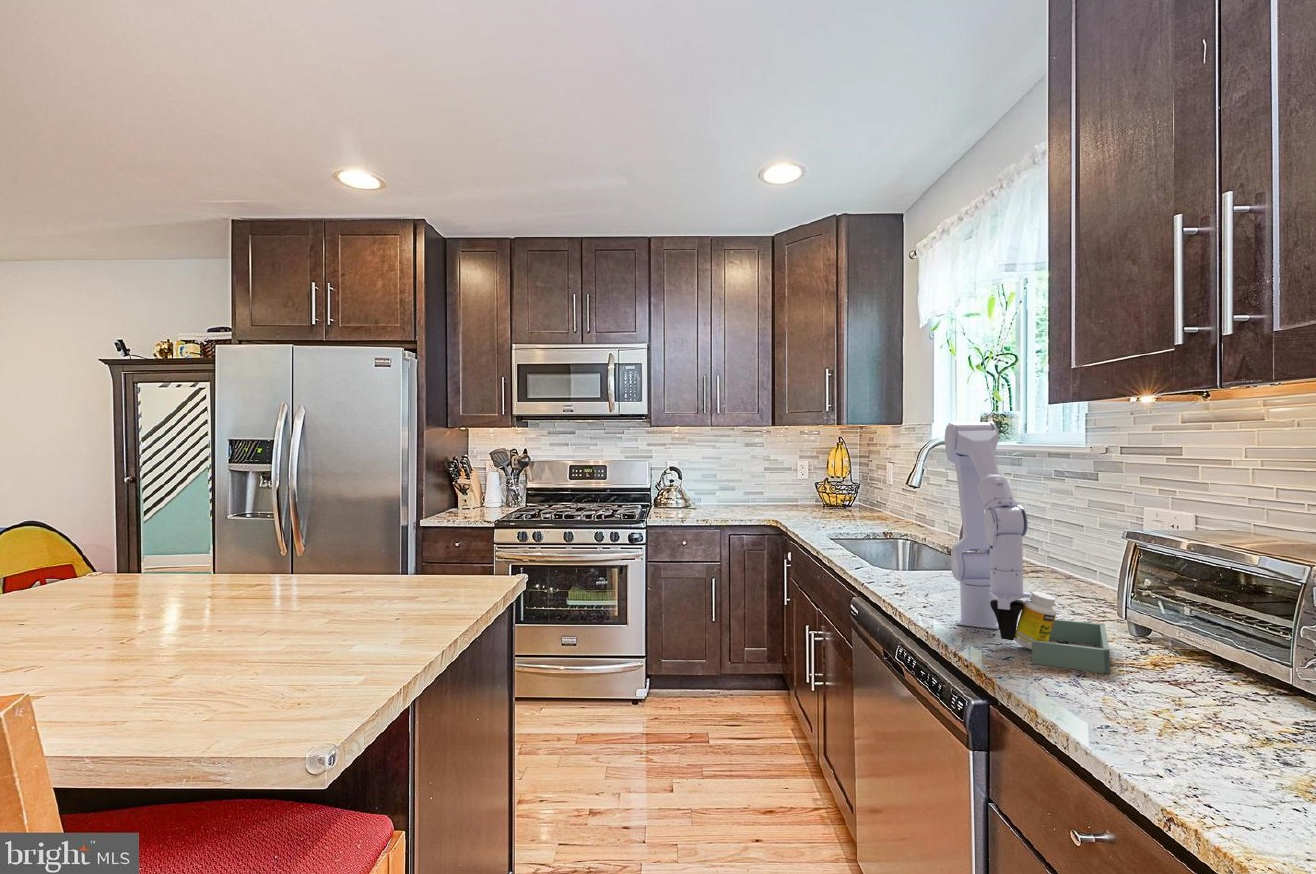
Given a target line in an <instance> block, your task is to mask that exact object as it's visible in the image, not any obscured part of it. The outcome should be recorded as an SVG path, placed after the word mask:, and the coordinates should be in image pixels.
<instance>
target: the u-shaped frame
mask: <svg viewBox="0 0 1316 874" xmlns="http://www.w3.org/2000/svg"><path fill="white" fill-rule="evenodd" d="M1049 640H1051V641H1059V642H1060V641H1061V642H1070V643H1078V644H1085V645H1093V646H1099V647H1100V648H1099V647H1092V646H1083V645H1075V644H1068V643H1067V644H1065V643H1058V642H1049ZM1049 640H1048V642H1043V641H1034V640H1032V650H1031V656H1032V665H1038V666H1039V665H1040V666H1046V667H1055V668H1062V669H1068V670H1077V671H1084V672H1091V673H1100V674H1107V675H1111V655H1110V654H1111V653H1110V651H1111V650H1110V647H1109V645H1110V644H1109V640H1108V634H1107V629H1106V625H1105V624H1104V623H1097V622H1087V621H1086V622H1085V621H1077V620H1076V621H1075V620H1066V619H1058V618H1055V620H1054V623H1053V627H1052V630H1051V633H1050V637H1049Z"/></svg>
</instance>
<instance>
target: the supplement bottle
mask: <svg viewBox="0 0 1316 874" xmlns="http://www.w3.org/2000/svg"><path fill="white" fill-rule="evenodd" d="M1023 602H1024V604H1023V608H1022V610H1021V612H1020V614H1019V618H1018V621H1017V627H1016V632H1015V637H1014V641H1015V642H1016V643H1017V644H1018V645H1019V646H1022V647H1023V648H1027V649H1028V650H1031V651H1032V640H1034V641H1043V642H1049V637H1050V633H1051V630H1052V627H1053V623H1054V620H1055V619H1056V616H1057V610H1056V608H1055V607H1054V605H1055V602H1056V598H1055V597H1054V596H1052V595H1050V594H1048V593H1044V592H1041V591H1032V592H1031V593H1030V598H1029V599H1027V600H1025V601H1023Z"/></svg>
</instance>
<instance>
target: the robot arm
mask: <svg viewBox="0 0 1316 874" xmlns="http://www.w3.org/2000/svg"><path fill="white" fill-rule="evenodd" d="M999 438H1000V436H999V428H998V426H997V425H996V423H995V422H994V421H990V420H989V421H987V422H986V421H985V422H984V421H983V422H980V421H979V422H952V421H951V422H949V423H948V424H947V425H946V427H945V430H944V445H945V454H946V458H947V461H948V462H950V463H951V464H953V465H954V468H955V471H956V480H957V488H958V489H957V490H958V498H959V507H960V516H961V517H960V518H961V527H962V534H963V537H962V538H961V539H960V540H958V541H957V542H955V543H954V544H953V545H952V547H951V551H950V553H951V557H950V558H951V559H950V569H951V573H952V576H953V578H954V579H955V580H956V581H958V582H959V587H960V588H959V589H960V590H959V591H960V594H959V595H960V597H959V598H960V599H959V600H960V617H959V618H958V620H957V622H956V625H958V626H965V627H974V628H975V627H976V628H981V629H982V628H983V629H993V630H999V634H1000V638H1001V640H1007V641H1015V639H1014V637H1015V632H1016V629H1017V626H1018V622H1019V617H1020V615H1021V612H1022V608H1023V604H1024V602H1025V601H1023V600H1021V599H1024V598H1026V599H1027V598H1029V599H1030V597H1031V591H1030V592H1029V591H1024V557H1023V556H1024V554H1023V553H1024V552H1023V550H1024V549H1023V537H1024V536H1026V534H1027V532H1028V527H1029V526H1028V524H1029V523H1028V521H1029V520H1028V517H1027V516H1028V515H1027V512H1026V509H1025V508H1024V506H1021V504H1020V502H1017V501H1015V497H1014V495H1013V492H1012V489H1011V486H1010V483H1009V481H1008V479H1007V478H1005V477H1004V476H1002V475H1000V472H999V467H998V464H997V463H998V462H997V459H996V455H995V452H996V449H997V445H998V443H999ZM978 551H979V552H978Z"/></svg>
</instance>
